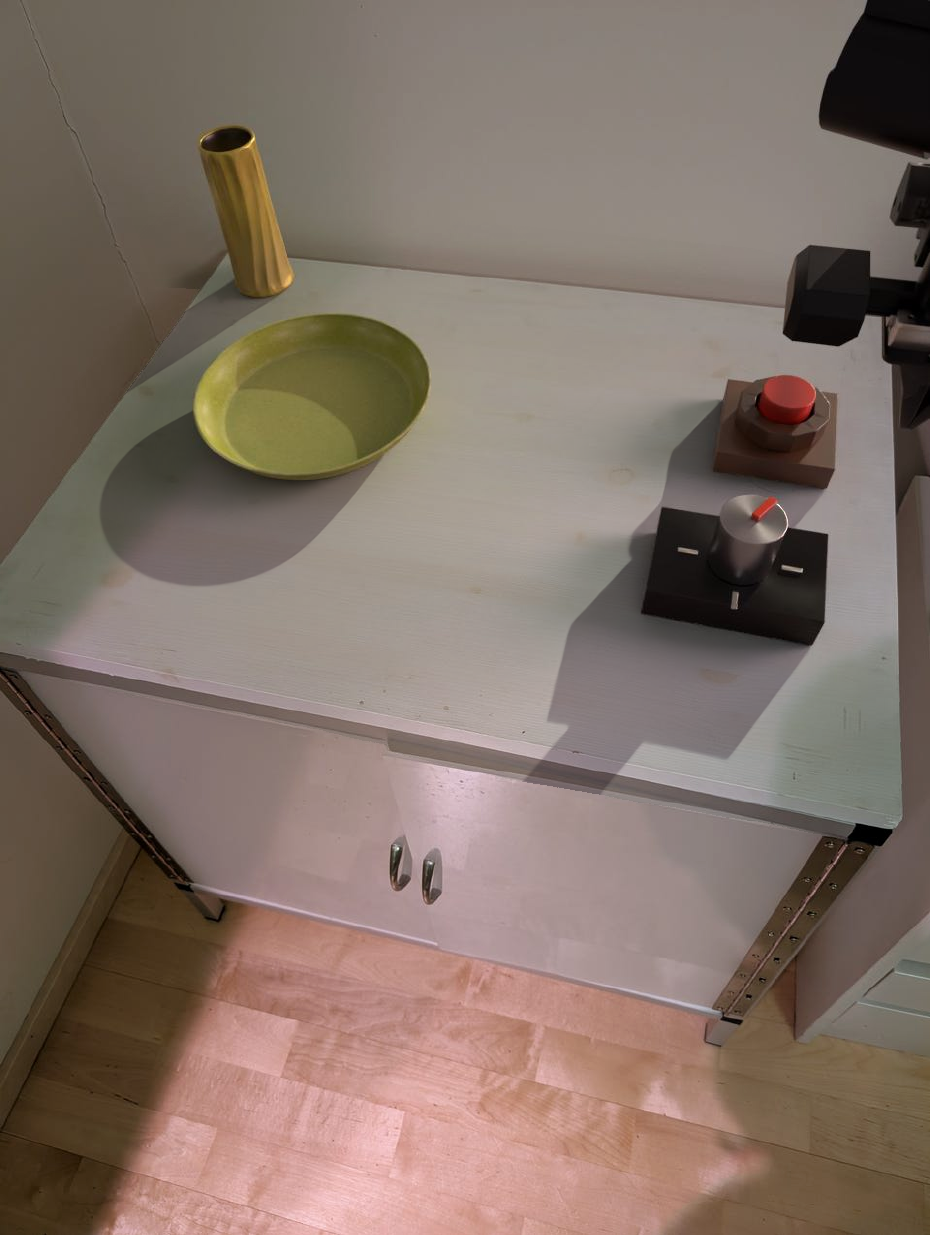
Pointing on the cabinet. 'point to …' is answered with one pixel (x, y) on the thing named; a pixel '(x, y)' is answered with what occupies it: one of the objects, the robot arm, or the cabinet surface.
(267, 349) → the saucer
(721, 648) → the cabinet surface
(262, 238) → the vase
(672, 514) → the panel
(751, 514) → the knob
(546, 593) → the cabinet surface
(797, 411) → the button
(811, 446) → the button block
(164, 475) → the cabinet surface
